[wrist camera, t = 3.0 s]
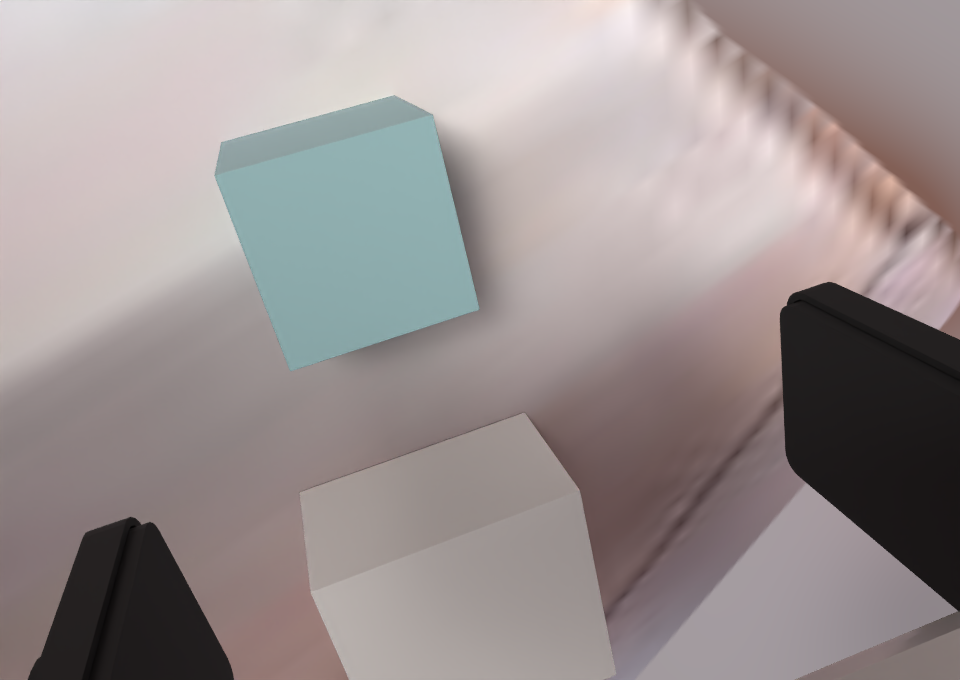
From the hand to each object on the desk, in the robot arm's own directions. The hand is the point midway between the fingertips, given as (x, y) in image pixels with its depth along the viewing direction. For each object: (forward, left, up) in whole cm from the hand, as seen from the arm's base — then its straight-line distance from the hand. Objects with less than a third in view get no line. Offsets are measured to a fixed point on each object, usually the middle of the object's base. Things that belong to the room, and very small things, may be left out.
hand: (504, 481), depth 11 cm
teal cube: (0, 0, -18) cm, 18 cm away
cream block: (+16, 0, -18) cm, 24 cm away
